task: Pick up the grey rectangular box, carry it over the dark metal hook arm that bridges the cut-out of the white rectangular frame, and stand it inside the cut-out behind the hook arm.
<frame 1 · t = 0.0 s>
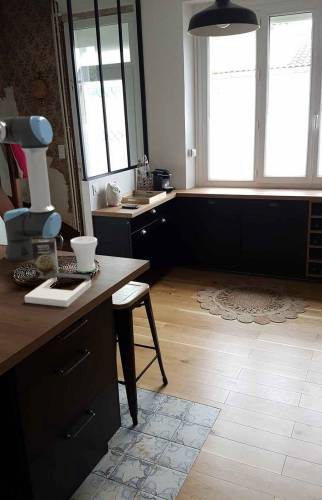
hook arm: (71, 284, 170), on the table
grey rectangular box: (47, 277, 179), on the table
cup: (86, 271, 185), on the table
white rectangular frame: (59, 293, 161), on the table
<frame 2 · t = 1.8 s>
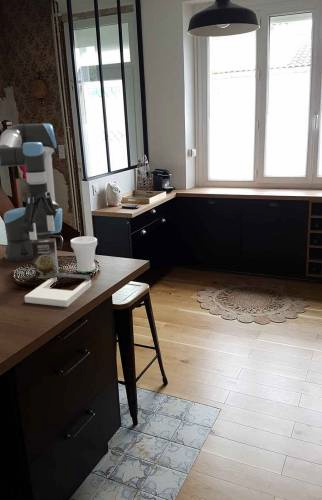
hand: (42, 235, 173), 18 cm above the table, fingers open, 13 cm apart
nothing on the table moved.
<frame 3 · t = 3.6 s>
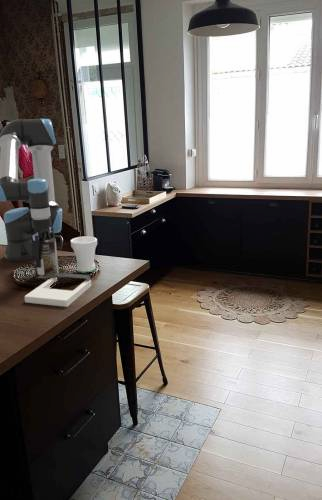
hand: (47, 270, 178), 3 cm above the table, fingers closed on grey rectangular box, 8 cm apart
grey rectangular box: (47, 277, 179), on the table, touching gripper
everything else where it was.
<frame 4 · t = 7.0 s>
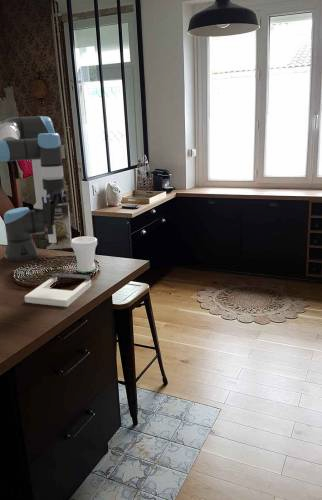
hand: (59, 239, 158), 21 cm above the table, fingers closed on grey rectangular box, 8 cm apart
grey rectangular box: (59, 246, 159), point 18 cm above the table, touching gripper
everything else where it was.
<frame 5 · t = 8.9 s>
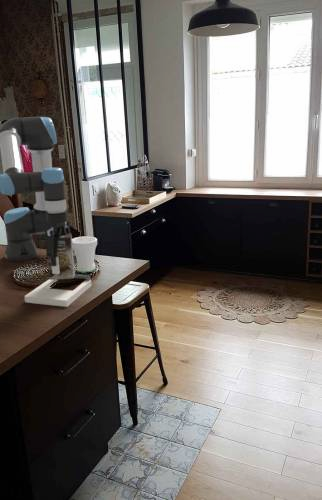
hand: (62, 269, 162), 9 cm above the table, fingers closed on grey rectangular box, 8 cm apart
grey rectangular box: (62, 276, 163), point 6 cm above the table, touching gripper
everything else where it was.
when the fingers open (5 cm above the table, at t = 10.2 s): grey rectangular box drops 2 cm, on the table.
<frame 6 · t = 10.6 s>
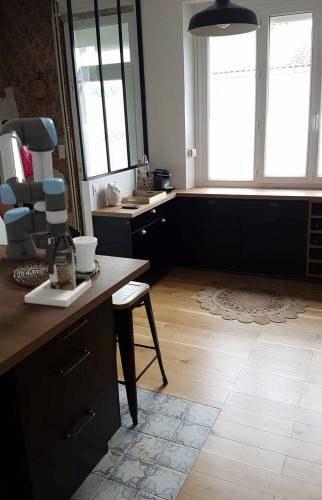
hand: (62, 275, 163), 6 cm above the table, fingers open, 13 cm apart
grey rectangular box: (64, 290, 165), on the table
everything else where it was.
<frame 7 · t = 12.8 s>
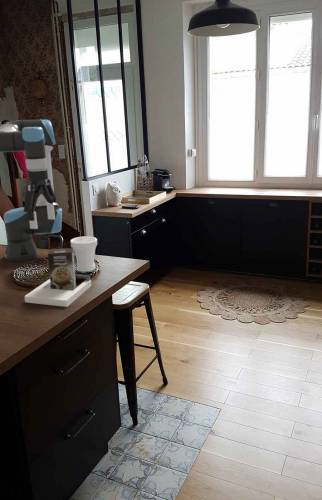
hand: (43, 223, 168), 24 cm above the table, fingers open, 13 cm apart
nothing on the table moved.
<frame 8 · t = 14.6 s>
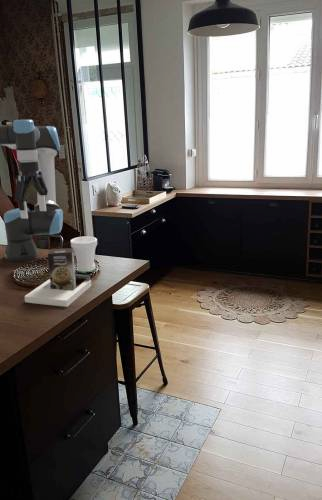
hand: (34, 214, 172), 27 cm above the table, fingers open, 13 cm apart
nothing on the table moved.
at the end: grey rectangular box inside the target area on the white rectangular frame (0.5 cm from its centre), point 0.0 cm above the white rectangular frame's base; grey rectangular box tilted 0°; the gripper is holding nothing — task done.
